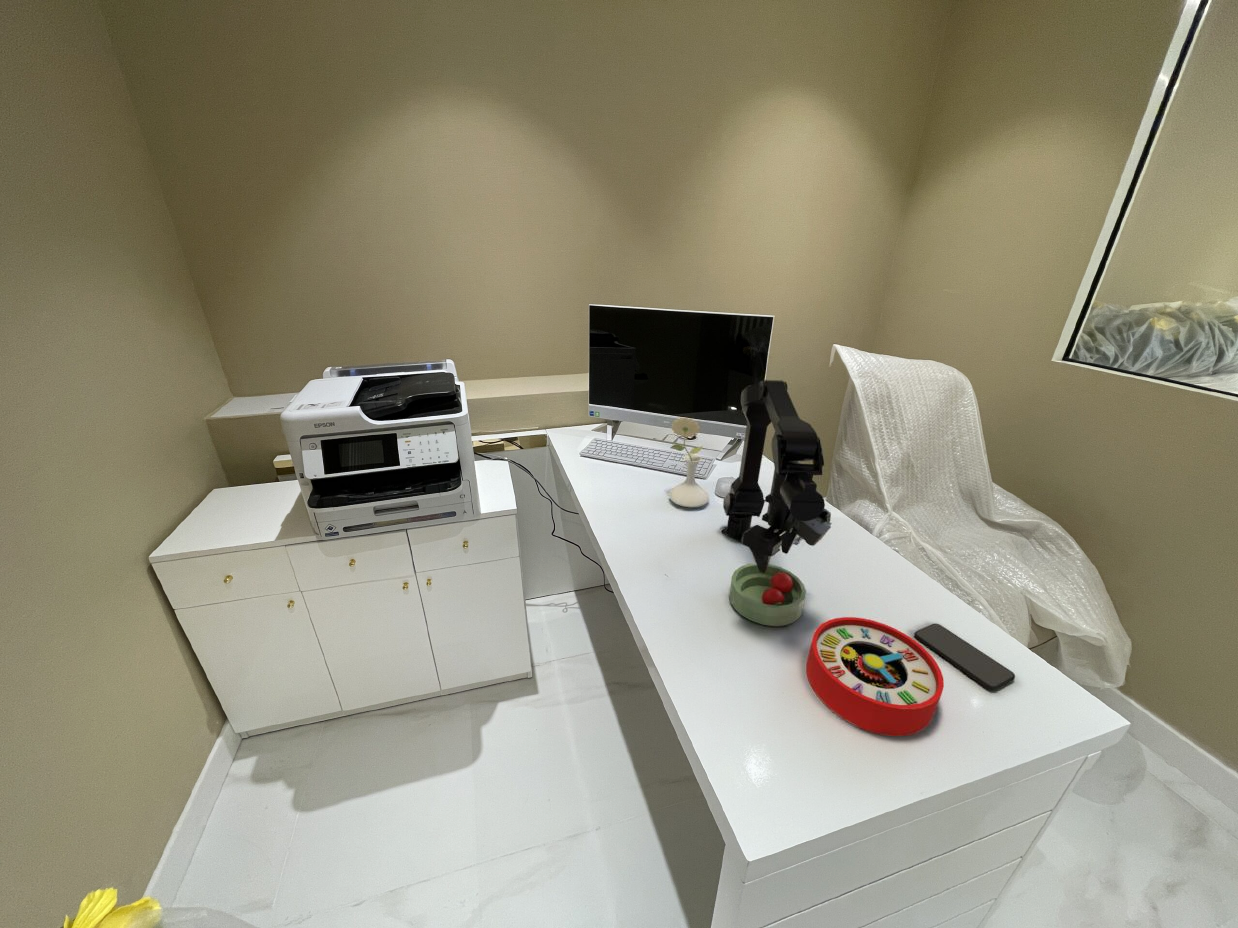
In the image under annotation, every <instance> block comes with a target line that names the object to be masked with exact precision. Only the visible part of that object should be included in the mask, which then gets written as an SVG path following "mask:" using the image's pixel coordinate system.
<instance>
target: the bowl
mask: <svg viewBox="0 0 1238 928" xmlns="http://www.w3.org/2000/svg"><path fill="white" fill-rule="evenodd" d="M777 573H785V574H787V575H789V576H790V577H791V579H792V582H793V587H792V589H791V591H790V592H789V593H787V594H783V596H784V604H783V605H782V606H775V605H767V604H763V603H762V595H763V593H764V591H765V590H767V589H769V588H772V587H771V579H772V577H773V576H774V575H775V574H777ZM731 575H732V576H731V580H730V586H729V593H728V595H729V602H730V603H731V605H732V607H733V609H734V610H735V611H737V612H738V613H739V615H741V616H742V617H744V618H746V619H748V620H749V621H752V622H754V623H757V624H760V625H764V626H770V627H782V626H788V625H790V624H793V623H795V622H797V620H799V618H801V616H802V612H803V608H804V604H805V600H806V594H807V590H806V587H805V584H804V583H803V582H802V580H801V579H800V578H799V577H798V576H797V575H795V574H794V573H793V572H791V571H790V570H788V569H786V568H783V567H781V566H778V565H775V564H770V563H769V564H768V567H767V569H766V571H765V573H762V572H760V571H759V569H758V567H757V564H756V562H755V563H747V564H743V565H741V566H739V567H738V568H737V569H735V570H734V571H733V573H732V574H731Z"/></svg>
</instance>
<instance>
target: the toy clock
mask: <svg viewBox="0 0 1238 928" xmlns="http://www.w3.org/2000/svg"><path fill="white" fill-rule="evenodd" d="M810 644H811V645H810V647H809V652H808V656H807V658H806V659H807V660H806V664H805V673H806V678H807V680H808V682H809V683H808V684H810V687H811V689H812V690H813V692H814V694H815V695H816V696H817V697H818V699H819V700H820V702H822V703H823V704H824V705H825V706H826V707H827V708H828V709H829V710H831V712H833V713H834V714H835V715H837V716H838V717H840V718H841V719H843V720H844V721H846V722H848V723H850V724H851V725H853V726H855V727H857V728H860V729H863V730H865V731H867V732H871V733H875V734H878V735H882V736H889V737H906V736H910V735H914V734H918V733H919V732H921V731H923V730H924V729H926V727H928V725H929V724H930V723H931V721H932V719H933V717H934V714H935V712H936V709H937V708H938V707H937V706H938V704H939V702H940V699H941V697H942V694H943V691H944V687H945V683H944V682H945V681H944V676H943V673H942V669H941V668H940V666H939V664H938V663H937V661H936V660H935V659H934V657H933V656H932V654H930V652H929V651H928V650H927V649H926V648H925V647H924V646H923V645H921V644H920V643H919V642H917V641H916V640H915V639H914V638H912V637H910V636H909V635H908V634H906V633H904V632H902V631H900V630H899V629H897V628H894V627H892V626H890V625H888V624H886V623H883V622H879V621H877V620H873V619H868V618H863V617H856V616H855V617H854V616H843V617H835V618H832V619H828V620H827V621H824V622H822V623H821V624H820V625H819V626H817V628H816V629H815V631H814V632H813V635H812V640H811V643H810Z"/></svg>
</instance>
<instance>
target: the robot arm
mask: <svg viewBox="0 0 1238 928" xmlns="http://www.w3.org/2000/svg"><path fill="white" fill-rule="evenodd" d="M788 389H789V388H788V383H787V381H784V380H781V379H780V380H777V379H764V380H761V381H759V382H758V383H755V384H751V385H747V386H746V387H745V388H743V390H742V391H741V394H740V405H741V410H742V413H743V414H744V417H745V419H746V427H745V432H744V433H745V434H744V441H743V448H742V454H741V460H740V468H739V474H738V477H736V478H735V480H734V481H733V482H732V483H731V484H730V488H729V492H727V494H726V495H725V497H723V502H722V503H723V504H722V505H723V506H722V507H723V510H724V514H725V515H726V517H728V518H727V523H726V524H727V525H726V527H724V528H722V529H721V531H720V532H721V533H722V534H724V535H726V536H728V537H730V538H733V539H735V540H736V541H739V542H741V544H742V545H743V546H746V547H748V548H749V550H750V552H751V554H752V557H753V559H754V561H755V563H756V564H757V567H758V569H759V571H760V572H762V573H765V571H766V569H767V567H768V564H770V561H771V558H772V557H774V556H775V555H776V554H777V553H779V552H780V551H781V552H782V553H783V554H786V555H787V554H789V552H790V550H791V548H792V546H793V545H794V543H795V541H796V540H797V539H796V537H797V536H798V535H799V538H801V539H802V540H804V541H805V543H806V544H807V545H808V546H811V547H814V546H815V545H817V544H818V543H819V542H820V541H821V540H822V539H823V538H824V536H825V535H826V534H827V533H828V531H829V530H830V529H831V528H832V526H831V525H832V522H831V517H832V513H831V512H830V511H829V510H827V508H825V507H826V503H825V498H824V497H823V495H822V494H821V492H820V491H819V490H818V489H817V488H818V485H817V483H816V481H814V480H813V479H814V476H823V467H824V466H825V460H824V452H823V447H822V446H823V445H822V442H821V438H820V437H819V435H818V433H817V432H816V430H815V429H814V427H813V426H812V425H811V424H810V423H809V422H807V421H805V420H803V419H801V418H800V416H799V413H798V412H797V409H796V406H795V405H794V403H793V401H792V398H791V396H790V394H789V392H788ZM770 424H772V427H773V430H774V432H773V433H774V434H773V436H772V438H771V448H770V449H771V454H772V459H773V466H774V470H773V476H772V481H771V486H770V487H771V488H770V493H769V494H767V495H766V496H765V497H764V493H763V490H762V488H761V486H760V484H759V479H760V473H761V467H762V460H763V456H764V455H763V454H764V448H765V442H766V437H767V433H768V431H767V430H768V426H769V425H770ZM801 462H812V463H801ZM765 503H768V505H767V511H766V512H765V513H764V514H762V512H763V509H764V505H765ZM761 514H762V516H761ZM753 517H757V518H758V517H759V518H760V517H761V521H763V522H765V523H767V525H768V526H769V527H768V528H766V527H764V526H762V525H759V524H755V525H753V526H752V521H753Z"/></svg>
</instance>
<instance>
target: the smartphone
mask: <svg viewBox="0 0 1238 928" xmlns="http://www.w3.org/2000/svg"><path fill="white" fill-rule="evenodd" d="M913 635H914V637H915V639H917V641H919V642H921V643H922V644H924V645H925V646H927V647H928V648H930V649H931V650H932V651H934V652H935V654H938V655H939V656H941V657H942V658H944V659H945V660H946V661H947V662H949V663H951V664H952V665H953V666H955V668H957V669H959V670H960V671H962V672H963V673H965V674H966V675H967V676H968V677H970V678H971V679H973V680H975V682H977V683H979V684H980V685H982V686H983V687H985V688H986V689H988V690H990V691H995V690H998V689H1000V688H1001V687H1003V686H1004V685H1006V684H1008V683H1010V682H1012V681H1014V680H1015V678H1016V674H1015V672H1014V671H1012V670H1010V669H1009V668H1007V667H1006V666H1004V665H1003V664H1001V663H1000V662H998V661H996V660H995V659H993V658H992V657H990V656H989V655H987V654H986V653H985V652H983V651H981V650H980V649H978V648H977V647H975V646H973V645H972V644H970V643H969V642H967V641H966V640H965V639H963V638H961V637H960V636H959V635H957V634H956V633H954V632H953V631H950V629H947V628H945V627H944V626H943V625H941V624H939V623H932V624H930V625H927V626H925V627H922V628H920V629H918V630H916V631H914V633H913Z"/></svg>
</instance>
